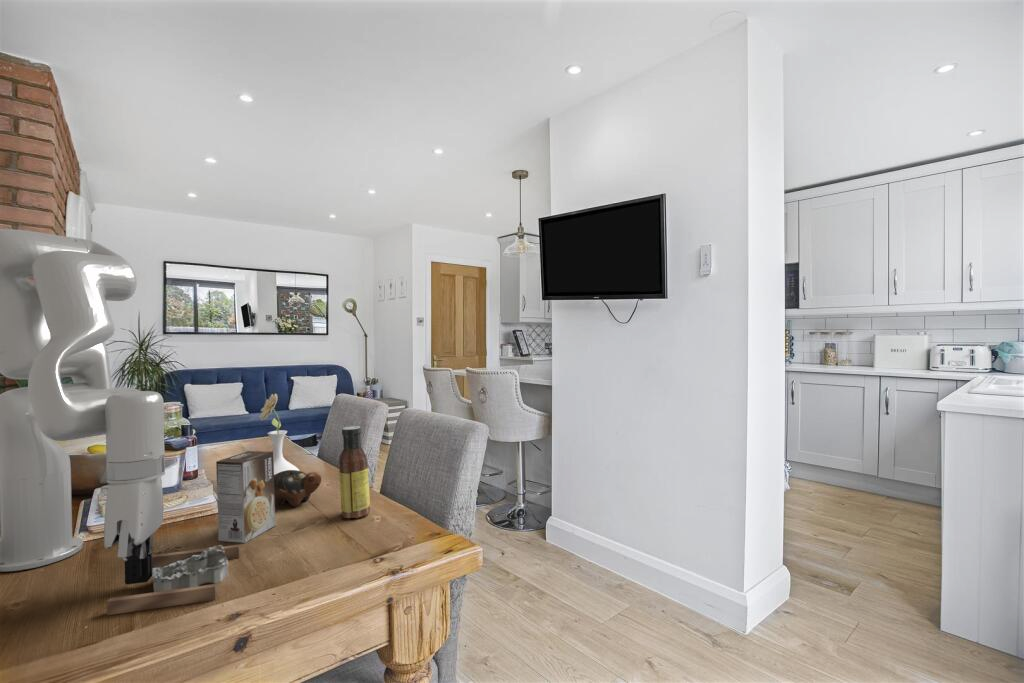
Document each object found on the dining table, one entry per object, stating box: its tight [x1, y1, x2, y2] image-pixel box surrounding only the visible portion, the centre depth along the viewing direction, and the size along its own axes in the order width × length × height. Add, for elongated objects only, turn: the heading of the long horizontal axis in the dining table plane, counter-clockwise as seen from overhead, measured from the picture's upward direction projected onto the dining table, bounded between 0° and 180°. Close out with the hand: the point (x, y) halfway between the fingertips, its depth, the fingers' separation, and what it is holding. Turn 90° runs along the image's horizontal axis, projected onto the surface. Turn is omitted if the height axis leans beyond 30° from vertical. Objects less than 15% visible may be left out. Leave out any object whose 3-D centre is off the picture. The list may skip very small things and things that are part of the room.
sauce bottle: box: [338, 425, 371, 519], centre depth 112 cm, size 6×6×20 cm
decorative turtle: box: [274, 470, 322, 508], centre depth 120 cm, size 10×15×8 cm, turn 89°
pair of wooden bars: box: [106, 544, 241, 616], centre depth 82 cm, size 14×16×2 cm
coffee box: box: [215, 450, 276, 544], centre depth 102 cm, size 9×6×16 cm
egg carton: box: [151, 544, 230, 592], centre depth 82 cm, size 11×8×4 cm
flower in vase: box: [258, 393, 300, 475], centre depth 137 cm, size 13×11×25 cm
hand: (138, 580), depth 80 cm, fingers closed
